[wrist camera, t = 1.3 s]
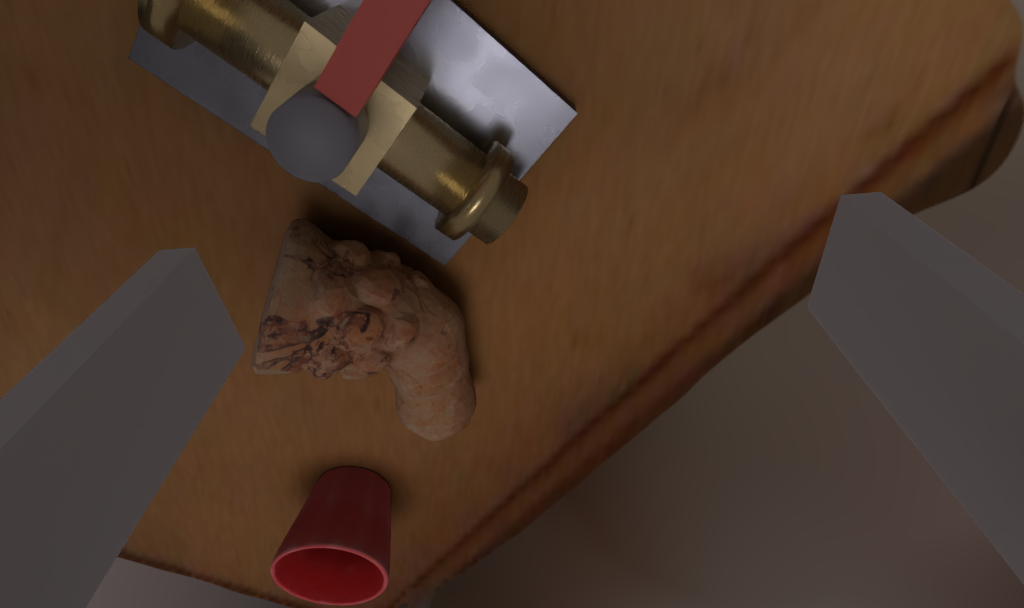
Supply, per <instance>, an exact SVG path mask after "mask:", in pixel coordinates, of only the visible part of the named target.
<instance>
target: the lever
mask: <svg viewBox="0 0 1024 608" xmlns="http://www.w3.org/2000/svg"><path fill="white" fill-rule="evenodd" d="M431 2H432V0H363V1H362V3H361V5H360V6H359V8H358V10H357V12H356V13H355V15H354V17H353V19H352V20H351V22H350V24H349V26H348V28H347V29H346V31H345V33H344V35H343V36H342V38H341V40H340V42H339V43H338V45H337V47H336V49H335V50H334V52H333V54H332V56H331V57H330V59H329V61H328V63H327V64H326V66H325V68H324V70H323V71H322V73H321V75H320V77H319V78H318V80H317V81H314V82H311V83H309V84H307V85H305V86H304V87H303V88H302V89H300V90H299V91H298V92H297V93H295V94H294V95H293V96H292V97H290V98H289V99H288V100H287V101H285V102H284V103H283V104H282V105H280V106H279V107H278V108H276V109H275V110H274V111H273V113H272V114H271V115H270V117H269V119H268V122H267V125H266V140H267V144H268V148H269V150H270V152H271V154H272V156H273V157H274V159H275V160H276V162H277V163H278V164H279V165H280V166H281V167H282V168H283V169H284V170H285V171H287V172H288V173H289V174H291V175H293V176H294V177H296V178H299V179H301V180H304V181H308V182H316V183H318V182H327V181H330V180H332V179H334V178H336V177H338V176H339V175H340V174H341V173H342V172H343V171H344V170H345V168H346V167H347V165H348V164H349V162H350V161H351V159H352V158H353V156H354V155H355V153H356V152H357V150H358V149H359V147H360V146H361V144H362V143H363V141H364V139H365V137H366V135H367V131H368V118H367V114H366V111H365V108H364V106H365V105H366V103H367V102H368V101H369V99H370V97H371V96H372V94H373V93H374V91H375V90H376V88H377V86H378V85H379V83H380V82H381V80H382V79H383V77H384V75H385V74H386V72H387V71H388V69H389V68H390V66H391V64H392V63H393V61H394V60H395V58H396V57H397V55H398V53H399V52H400V50H401V49H402V47H403V46H404V44H405V42H406V41H407V39H408V38H409V36H410V35H411V33H412V31H413V30H414V28H415V27H416V25H417V24H418V22H419V20H420V19H421V17H422V16H423V14H424V13H425V11H426V9H427V8H428V6H429V5H430V3H431Z"/></svg>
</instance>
